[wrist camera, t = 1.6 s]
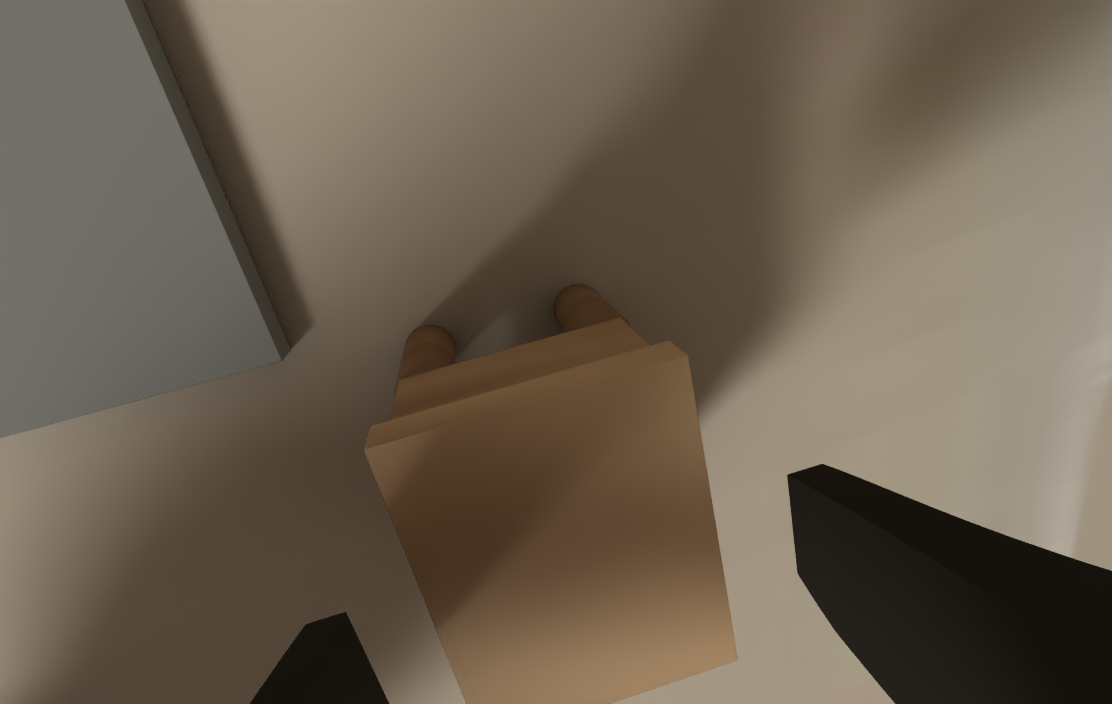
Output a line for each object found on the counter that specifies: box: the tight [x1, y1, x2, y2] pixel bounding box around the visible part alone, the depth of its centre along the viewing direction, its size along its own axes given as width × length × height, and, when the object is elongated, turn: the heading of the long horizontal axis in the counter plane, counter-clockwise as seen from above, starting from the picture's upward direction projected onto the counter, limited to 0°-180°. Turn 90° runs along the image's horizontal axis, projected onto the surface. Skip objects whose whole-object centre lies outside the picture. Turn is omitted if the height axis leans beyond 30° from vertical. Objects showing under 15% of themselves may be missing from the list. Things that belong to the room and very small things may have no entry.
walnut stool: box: [364, 284, 738, 704], centre depth 12 cm, size 6×5×6 cm
